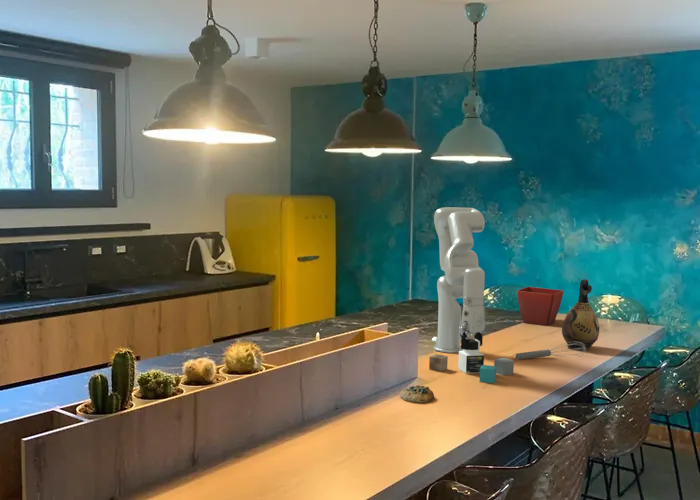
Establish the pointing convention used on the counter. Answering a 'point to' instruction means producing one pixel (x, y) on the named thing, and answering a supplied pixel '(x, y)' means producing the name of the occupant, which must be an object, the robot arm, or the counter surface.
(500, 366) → the slate grey block
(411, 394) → the bread roll
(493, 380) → the deep teal block
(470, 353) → the medicine bottle
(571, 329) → the ceramic jug
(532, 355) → the kitchen whisk
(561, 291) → the plant pot
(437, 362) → the walnut block
